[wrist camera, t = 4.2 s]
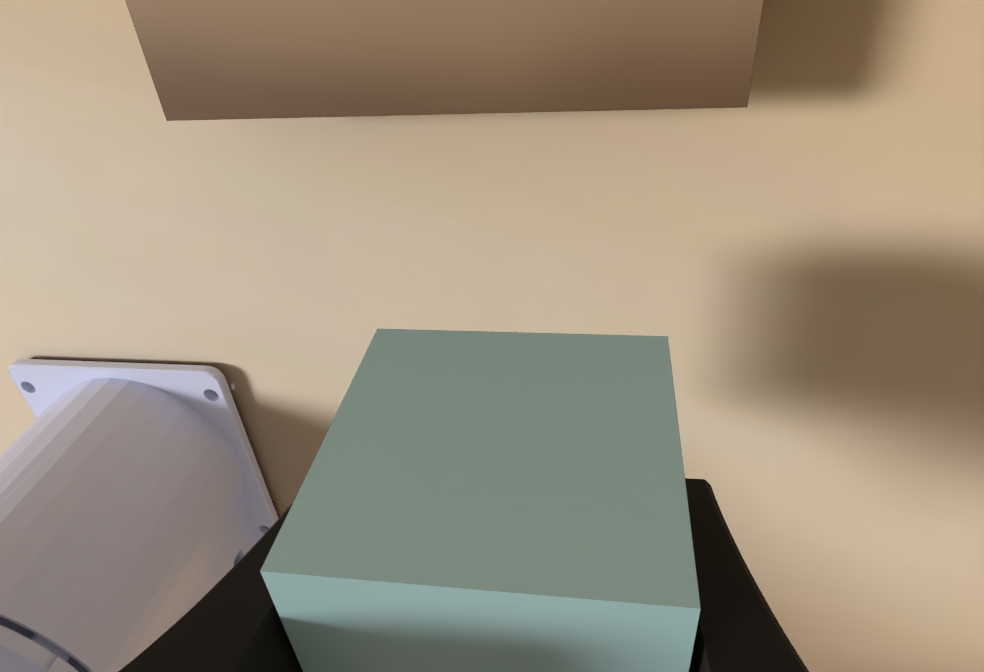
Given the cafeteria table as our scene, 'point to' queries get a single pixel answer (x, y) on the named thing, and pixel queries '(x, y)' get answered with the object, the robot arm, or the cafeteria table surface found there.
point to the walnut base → (444, 56)
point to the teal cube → (494, 511)
